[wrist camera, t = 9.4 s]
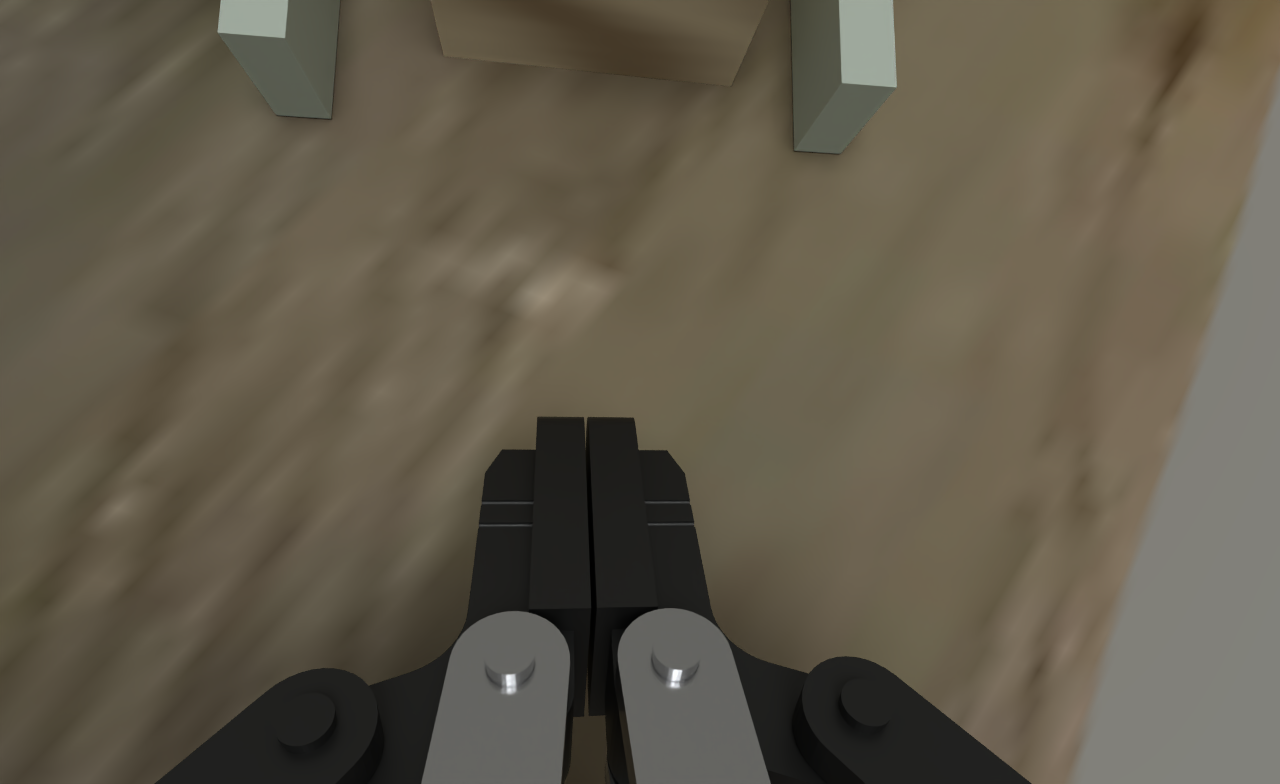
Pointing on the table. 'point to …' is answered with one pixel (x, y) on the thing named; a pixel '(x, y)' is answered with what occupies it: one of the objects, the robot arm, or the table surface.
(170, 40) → the table surface
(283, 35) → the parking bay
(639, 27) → the oak block
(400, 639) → the table surface
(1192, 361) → the table surface
